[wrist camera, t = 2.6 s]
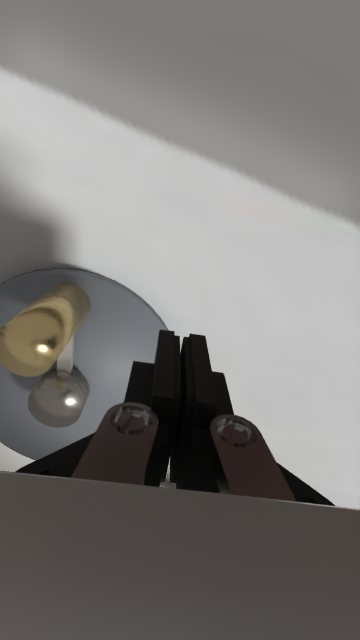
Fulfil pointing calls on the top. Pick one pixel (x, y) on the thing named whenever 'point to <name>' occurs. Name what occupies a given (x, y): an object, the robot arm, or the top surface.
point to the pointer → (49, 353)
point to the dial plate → (77, 356)
